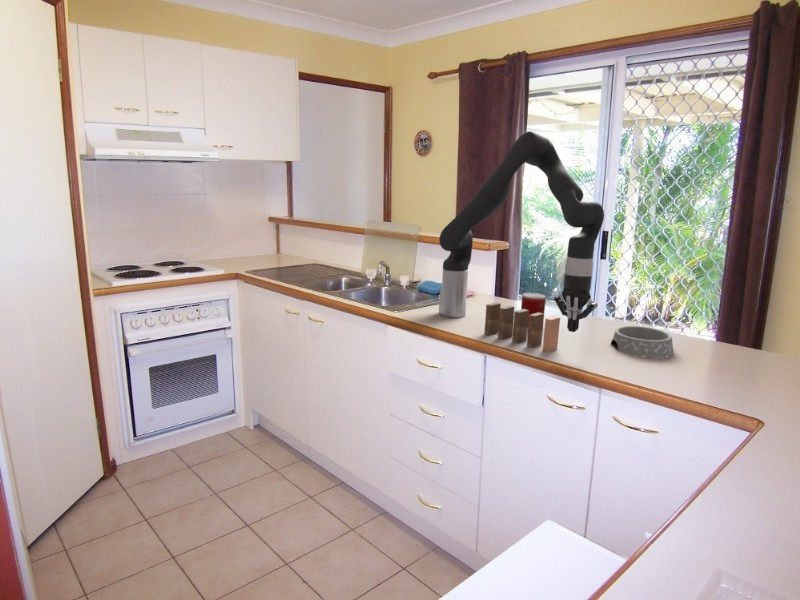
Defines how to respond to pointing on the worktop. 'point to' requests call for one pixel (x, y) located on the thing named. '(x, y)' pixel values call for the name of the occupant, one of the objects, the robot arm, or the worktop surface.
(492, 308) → the domino
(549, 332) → the domino
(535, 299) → the canned food
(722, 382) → the worktop surface
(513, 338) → the domino
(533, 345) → the domino
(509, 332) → the domino
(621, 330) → the dog bowl
